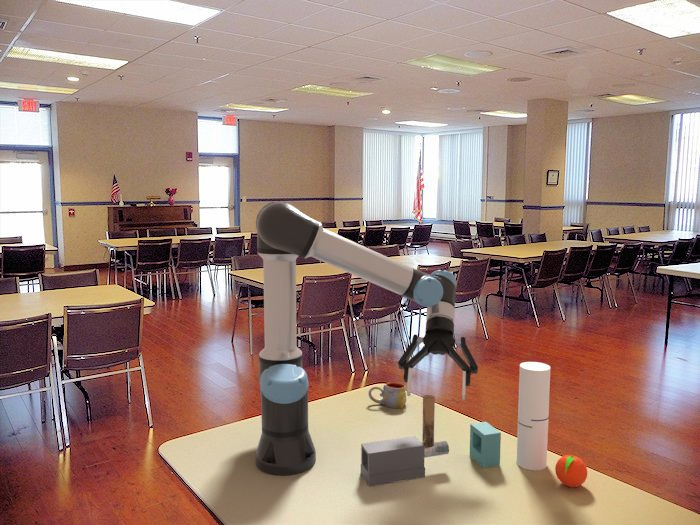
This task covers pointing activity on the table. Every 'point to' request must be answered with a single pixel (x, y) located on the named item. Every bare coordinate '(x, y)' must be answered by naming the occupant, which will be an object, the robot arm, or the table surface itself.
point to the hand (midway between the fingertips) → (435, 395)
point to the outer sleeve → (392, 460)
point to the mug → (391, 395)
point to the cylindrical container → (533, 415)
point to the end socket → (485, 444)
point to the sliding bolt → (431, 430)
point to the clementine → (571, 471)
